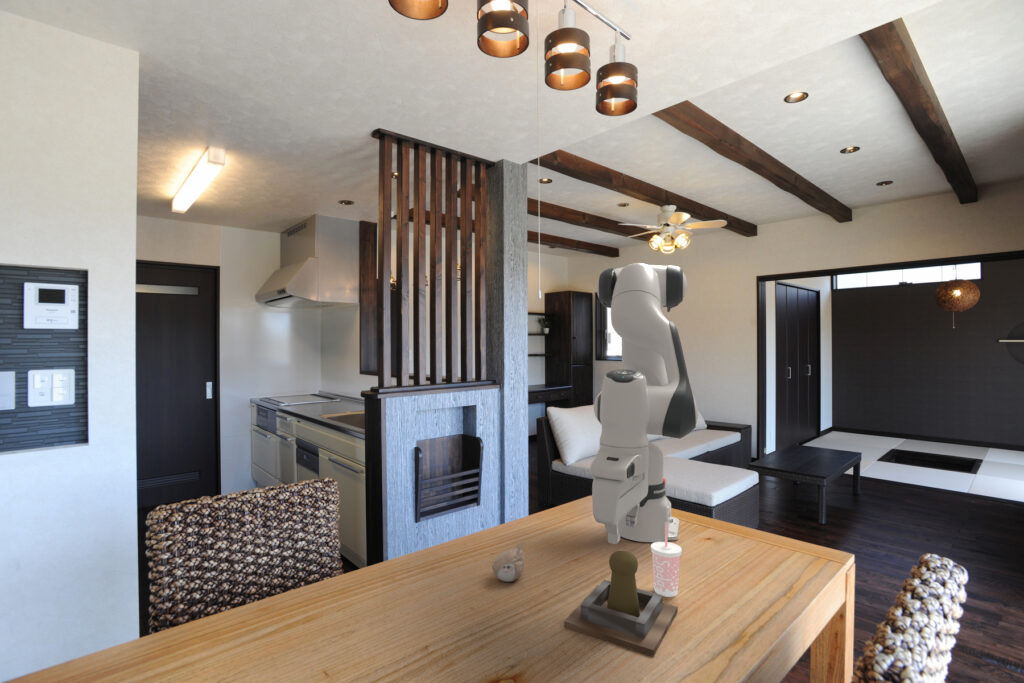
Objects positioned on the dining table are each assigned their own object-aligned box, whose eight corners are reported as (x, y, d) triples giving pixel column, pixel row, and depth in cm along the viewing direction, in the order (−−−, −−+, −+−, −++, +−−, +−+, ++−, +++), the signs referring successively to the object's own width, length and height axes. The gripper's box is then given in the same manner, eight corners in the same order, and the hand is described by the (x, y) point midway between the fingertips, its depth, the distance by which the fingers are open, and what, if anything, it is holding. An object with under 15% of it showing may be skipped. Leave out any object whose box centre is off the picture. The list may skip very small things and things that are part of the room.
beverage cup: (644, 588, 104) (644, 520, 104) (664, 581, 107) (664, 515, 107) (667, 601, 98) (668, 530, 99) (688, 593, 102) (688, 524, 102)
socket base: (597, 589, 103) (598, 572, 103) (677, 612, 95) (677, 593, 95) (564, 626, 89) (564, 606, 89) (653, 656, 81) (653, 634, 81)
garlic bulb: (514, 589, 103) (514, 550, 103) (487, 582, 106) (487, 544, 106) (528, 576, 109) (528, 539, 109) (502, 570, 112) (502, 534, 112)
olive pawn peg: (641, 624, 88) (641, 562, 88) (606, 620, 90) (606, 559, 90) (638, 607, 94) (639, 548, 94) (606, 603, 95) (606, 545, 96)
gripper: (625, 446, 103) (625, 513, 103) (586, 468, 85) (585, 548, 86) (656, 450, 99) (655, 519, 100) (621, 473, 82) (620, 557, 82)
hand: (622, 533), depth 92 cm, fingers open, 8 cm apart
